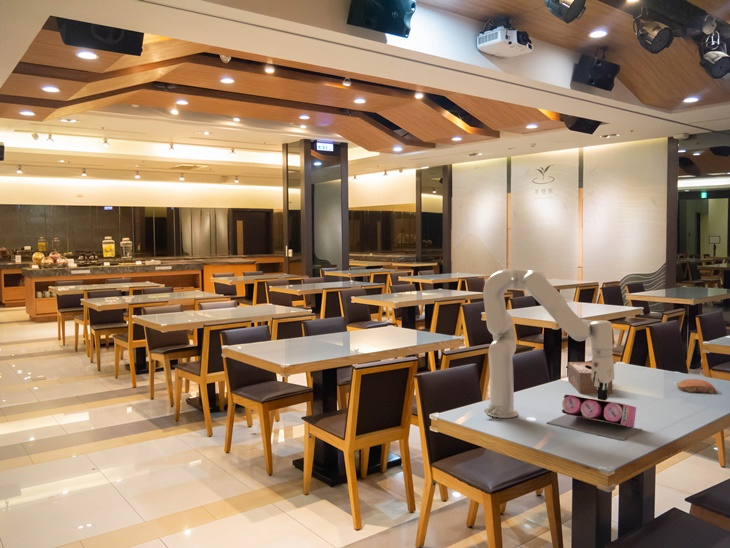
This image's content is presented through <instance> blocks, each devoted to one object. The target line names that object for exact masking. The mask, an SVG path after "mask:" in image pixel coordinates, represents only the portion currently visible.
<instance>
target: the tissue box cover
mask: <svg viewBox="0 0 730 548" xmlns="http://www.w3.org/2000/svg"><path fill="white" fill-rule="evenodd" d="M567 365H568V366H567V368H568V369H567V371H568V372H567V373H568V376H567V377H568V378H567V379H568V380H567V381H568V382H569V383H570V385H572V387H573V388H574V389H575V390H576V391H577V392H578V394H581V395H585V394H586V395H593V394H594V395H598V390H597V386H594V383H595V382H593V381H592V374H591V372H592V361H569V362H567ZM607 395H613V380H612V381H610V382H609V383H608V389H607Z"/></svg>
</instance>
